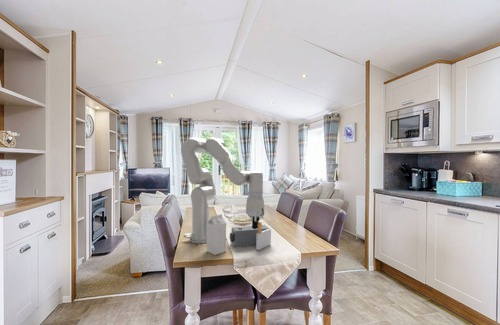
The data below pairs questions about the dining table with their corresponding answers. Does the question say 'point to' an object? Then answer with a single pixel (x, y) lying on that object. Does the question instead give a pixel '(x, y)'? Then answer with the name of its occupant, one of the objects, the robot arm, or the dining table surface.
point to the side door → (263, 237)
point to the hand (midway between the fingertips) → (255, 228)
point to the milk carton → (216, 235)
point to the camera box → (244, 236)
